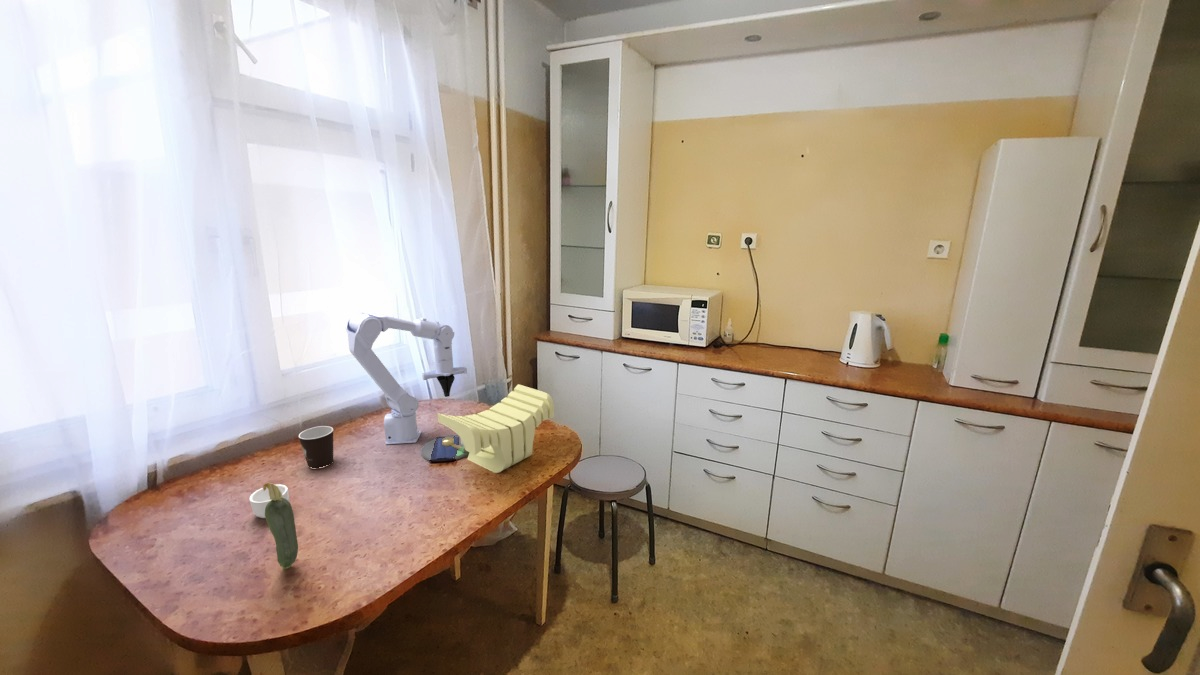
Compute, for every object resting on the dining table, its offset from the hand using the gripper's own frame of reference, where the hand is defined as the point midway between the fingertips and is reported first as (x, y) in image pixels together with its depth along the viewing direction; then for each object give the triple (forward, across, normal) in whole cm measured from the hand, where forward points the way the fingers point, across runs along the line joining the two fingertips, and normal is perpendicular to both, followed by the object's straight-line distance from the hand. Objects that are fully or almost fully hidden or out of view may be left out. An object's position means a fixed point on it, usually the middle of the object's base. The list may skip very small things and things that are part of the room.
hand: (446, 395), depth 159 cm
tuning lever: (+9, -3, -22) cm, 24 cm away
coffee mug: (+11, -39, -8) cm, 41 cm away
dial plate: (+10, -5, -20) cm, 23 cm away
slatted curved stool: (+11, +7, -34) cm, 36 cm away
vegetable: (+11, -45, -55) cm, 72 cm away
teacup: (+11, -50, -29) cm, 59 cm away
